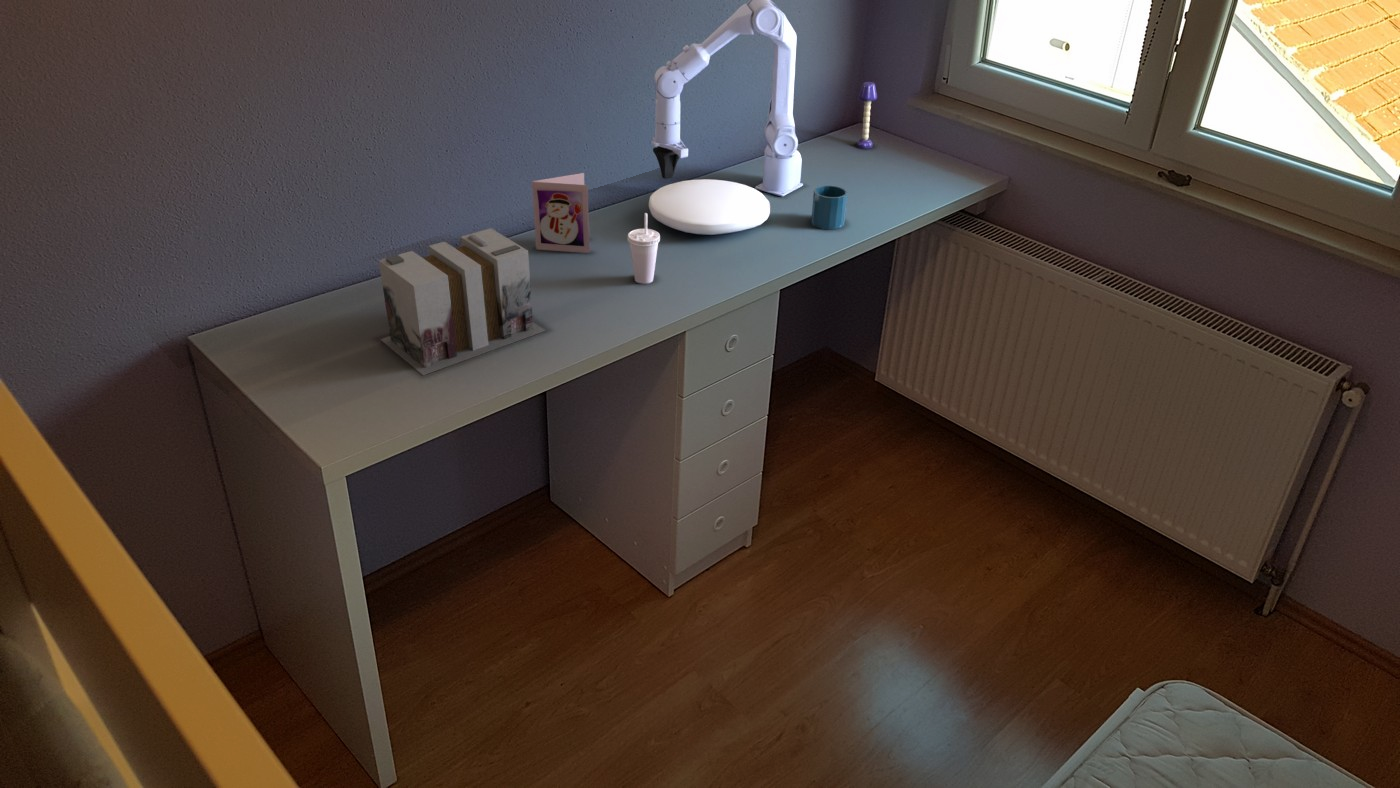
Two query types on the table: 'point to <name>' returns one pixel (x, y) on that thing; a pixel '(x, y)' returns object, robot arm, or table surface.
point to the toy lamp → (866, 112)
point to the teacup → (829, 207)
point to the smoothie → (643, 252)
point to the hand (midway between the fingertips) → (667, 177)
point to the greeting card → (561, 214)
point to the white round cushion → (709, 206)
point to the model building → (457, 300)
